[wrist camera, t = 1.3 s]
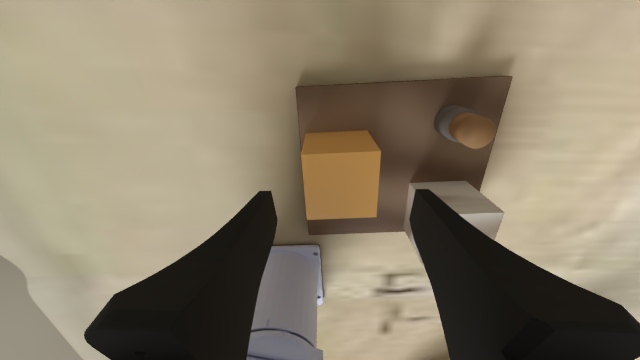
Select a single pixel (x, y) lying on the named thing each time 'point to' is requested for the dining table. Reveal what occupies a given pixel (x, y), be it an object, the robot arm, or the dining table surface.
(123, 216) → the dining table surface
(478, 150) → the board
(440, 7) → the dining table surface
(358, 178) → the kraft paper cube
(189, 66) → the dining table surface
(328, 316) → the dining table surface
